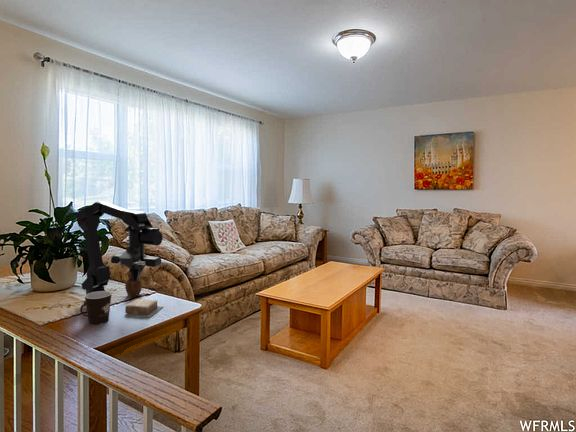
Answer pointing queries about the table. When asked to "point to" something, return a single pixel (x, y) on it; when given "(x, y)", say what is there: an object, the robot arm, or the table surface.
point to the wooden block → (141, 307)
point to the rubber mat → (146, 315)
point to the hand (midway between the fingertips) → (136, 280)
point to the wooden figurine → (133, 285)
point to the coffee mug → (97, 307)
